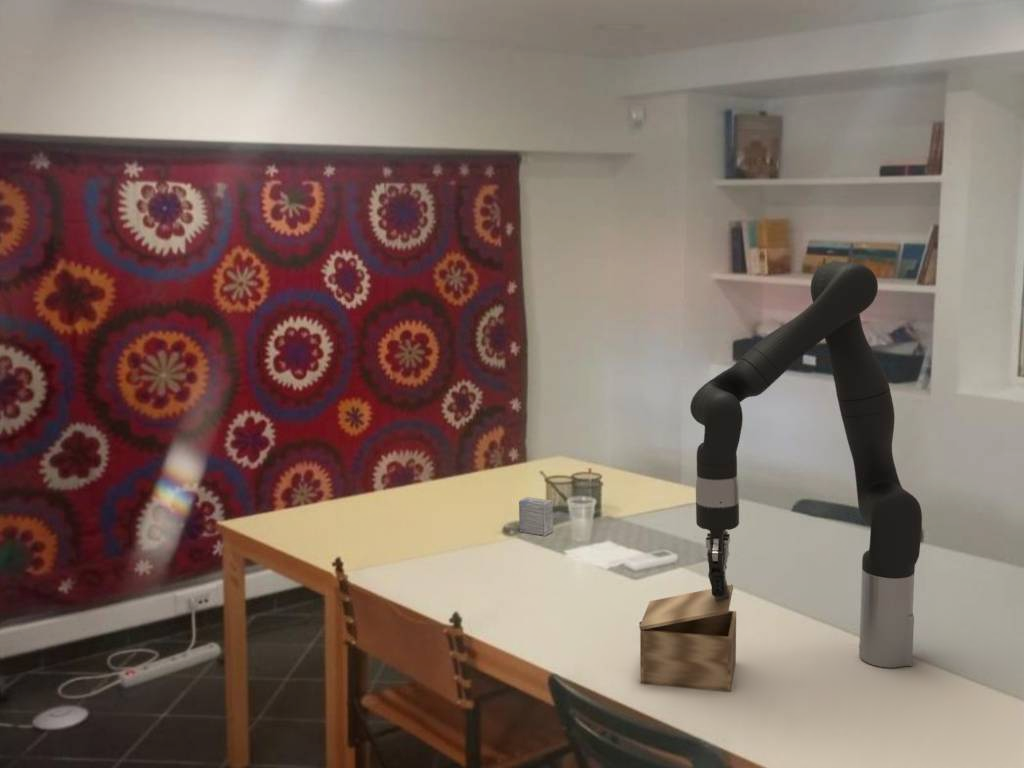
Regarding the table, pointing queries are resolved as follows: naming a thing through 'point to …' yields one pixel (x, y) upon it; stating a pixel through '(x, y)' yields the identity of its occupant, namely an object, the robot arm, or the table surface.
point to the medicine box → (536, 516)
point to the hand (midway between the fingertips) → (718, 592)
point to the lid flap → (686, 607)
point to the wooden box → (690, 653)
